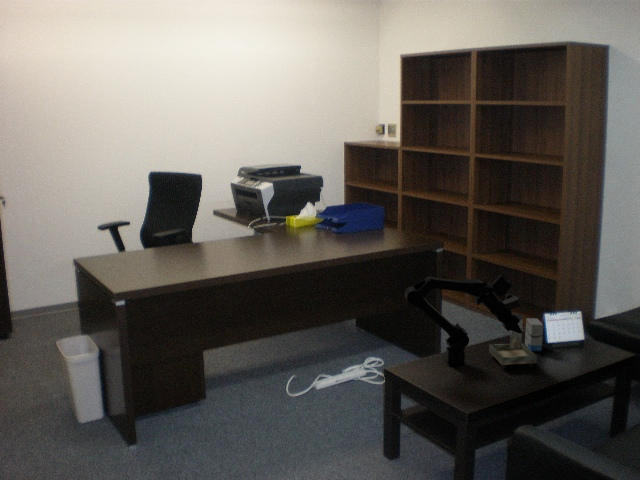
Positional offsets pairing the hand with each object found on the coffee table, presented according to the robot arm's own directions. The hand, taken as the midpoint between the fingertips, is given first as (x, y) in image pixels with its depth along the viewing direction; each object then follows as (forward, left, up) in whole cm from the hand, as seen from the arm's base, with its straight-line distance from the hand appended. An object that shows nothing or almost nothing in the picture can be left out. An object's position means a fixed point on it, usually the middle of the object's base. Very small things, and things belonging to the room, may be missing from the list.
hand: (519, 330), depth 260 cm
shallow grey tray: (-2, 0, -13) cm, 14 cm away
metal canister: (-1, 0, -7) cm, 7 cm away
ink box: (+13, +14, -14) cm, 23 cm away
